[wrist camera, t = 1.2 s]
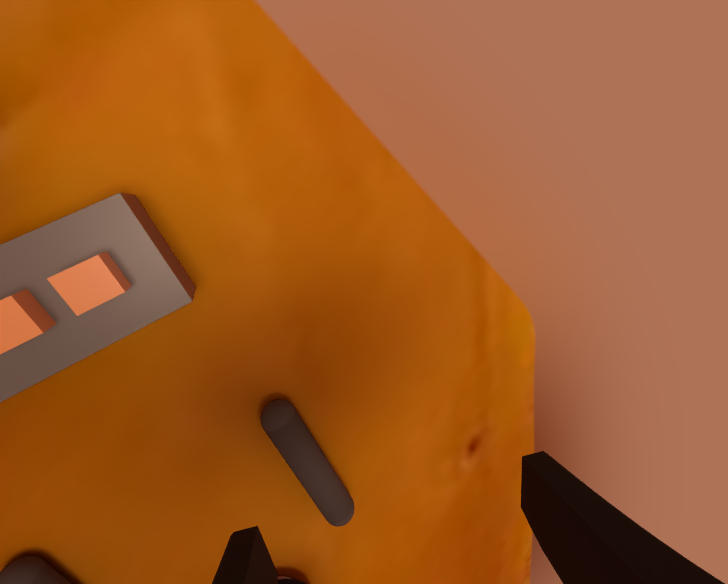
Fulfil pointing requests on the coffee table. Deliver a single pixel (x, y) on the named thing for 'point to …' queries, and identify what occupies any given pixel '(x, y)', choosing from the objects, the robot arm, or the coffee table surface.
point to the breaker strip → (82, 288)
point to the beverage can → (288, 580)
